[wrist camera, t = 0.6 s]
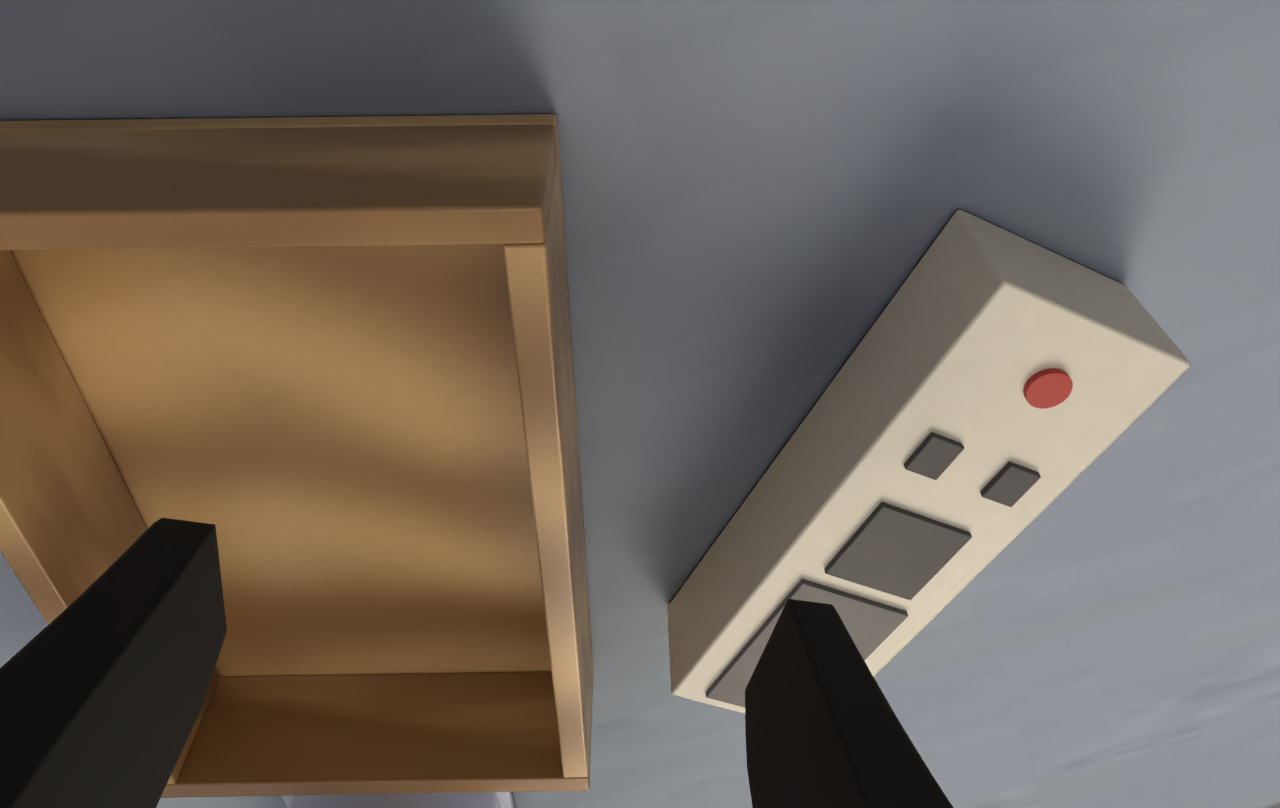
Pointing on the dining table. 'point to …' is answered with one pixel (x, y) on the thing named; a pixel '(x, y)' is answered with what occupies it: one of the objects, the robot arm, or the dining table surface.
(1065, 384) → the remote
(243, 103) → the dining table surface
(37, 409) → the tidy box
